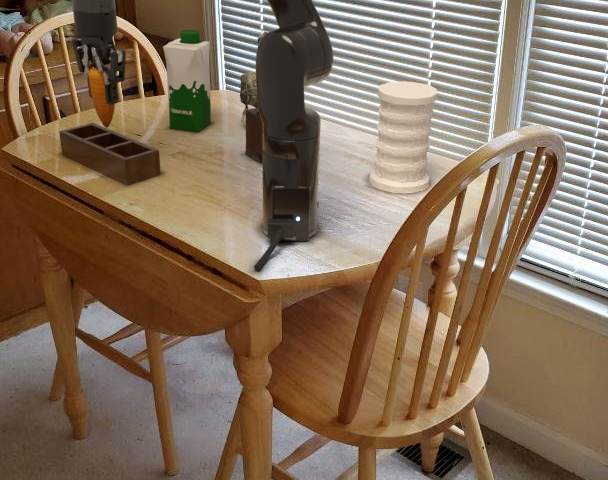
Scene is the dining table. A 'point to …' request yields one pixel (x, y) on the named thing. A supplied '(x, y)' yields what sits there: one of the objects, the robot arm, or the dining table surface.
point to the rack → (110, 153)
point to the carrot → (100, 96)
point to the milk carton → (188, 82)
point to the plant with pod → (249, 88)
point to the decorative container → (403, 137)
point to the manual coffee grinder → (254, 134)
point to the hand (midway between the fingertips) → (103, 99)
